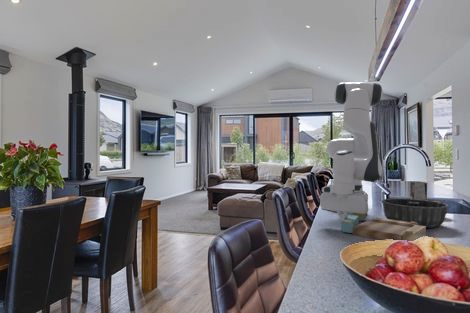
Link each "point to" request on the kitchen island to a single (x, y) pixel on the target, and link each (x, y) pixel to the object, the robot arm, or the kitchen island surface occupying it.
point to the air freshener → (361, 216)
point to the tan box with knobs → (390, 229)
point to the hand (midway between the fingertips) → (343, 221)
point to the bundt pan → (416, 211)
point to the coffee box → (418, 190)
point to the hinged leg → (350, 223)
